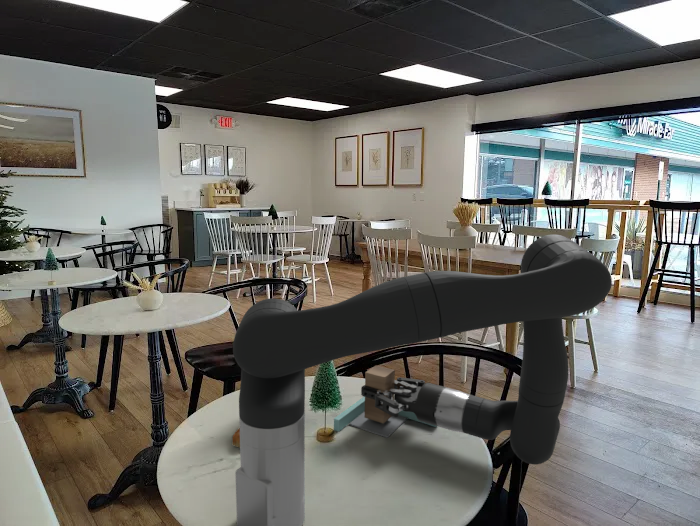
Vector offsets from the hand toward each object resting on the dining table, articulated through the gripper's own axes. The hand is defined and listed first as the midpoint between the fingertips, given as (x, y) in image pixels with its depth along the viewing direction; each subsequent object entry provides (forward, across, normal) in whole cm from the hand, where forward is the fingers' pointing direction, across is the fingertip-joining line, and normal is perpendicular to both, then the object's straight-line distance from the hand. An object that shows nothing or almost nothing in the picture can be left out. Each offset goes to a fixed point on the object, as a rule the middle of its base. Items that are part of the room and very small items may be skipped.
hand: (368, 386), depth 99 cm
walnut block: (-3, 0, +6) cm, 7 cm away
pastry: (+15, +19, +8) cm, 25 cm away
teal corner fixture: (-6, +1, +7) cm, 9 cm away
